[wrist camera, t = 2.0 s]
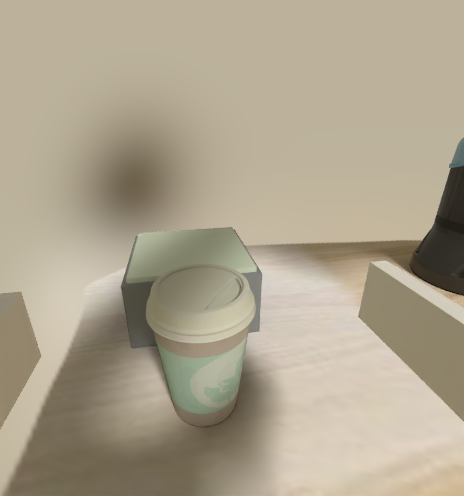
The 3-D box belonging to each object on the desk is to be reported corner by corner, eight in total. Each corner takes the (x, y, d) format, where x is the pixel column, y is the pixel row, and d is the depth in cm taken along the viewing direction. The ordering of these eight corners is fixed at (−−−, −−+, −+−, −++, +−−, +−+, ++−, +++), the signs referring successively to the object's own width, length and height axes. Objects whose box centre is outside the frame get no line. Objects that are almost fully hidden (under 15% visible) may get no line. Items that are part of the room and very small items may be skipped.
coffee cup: (181, 466, 21) (168, 336, 17) (145, 385, 28) (129, 276, 23) (271, 410, 26) (280, 293, 21) (221, 351, 32) (220, 253, 27)
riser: (234, 274, 49) (234, 226, 45) (259, 331, 35) (262, 268, 32) (142, 282, 46) (135, 232, 43) (131, 348, 33) (120, 281, 29)
